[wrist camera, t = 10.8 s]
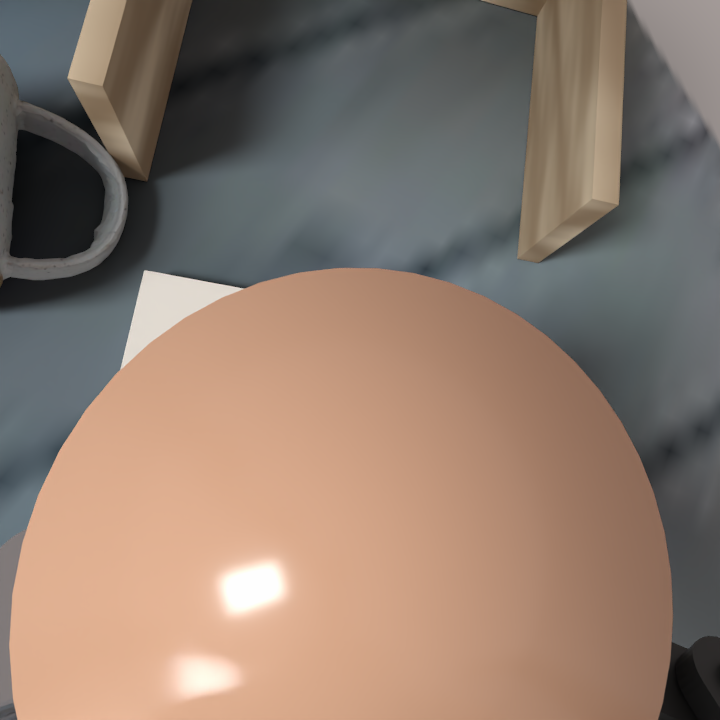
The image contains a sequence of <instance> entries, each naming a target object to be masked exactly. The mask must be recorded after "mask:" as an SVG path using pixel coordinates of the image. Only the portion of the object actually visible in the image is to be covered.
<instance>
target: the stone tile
mask: <svg viewBox="0 0 720 720" xmlns="http://www.w3.org/2000/svg"><path fill="white" fill-rule="evenodd" d="M240 290H243V288H238V287H233V286H227V285H222V284H216V283H211V282H206V281H200V280H195V279H189V278H184V277H179V276H173V275H168V274H162V273H157V272H152V271H146V270H144V274H143V278H142V282H141V286H140V290H139V295H138V299H137V303H136V307H135V311H134V315H133V319H132V324H131V328H130V332H129V336H128V340H127V344H126V349H125V353H124V357H123V361H122V365H121V369H122V368H123V367H124V366H125V365H126V364H128V363H129V362H130V361H131V360H132V359H133V358H134V357H135V356H136V355H137V354H138V353H139V352H140V351H142V350H143V349H144V348H145V347H146V346H147V345H148V344H149V343H150V342H152V341H153V340H155V339H156V338H157V337H159V336H160V335H162V334H163V333H164V332H166V331H167V330H169V329H170V328H171V327H173V326H174V325H175V324H177V323H178V322H180V321H181V320H182V319H184V318H185V317H187V316H189V315H191V314H193V313H195V312H196V311H198V310H200V309H202V308H204V307H206V306H207V305H209V304H211V303H213V302H215V301H217V300H218V299H220V298H222V297H225V296H227V295H230V294H232V293H235V292H237V291H240ZM121 369H120V370H121Z"/></svg>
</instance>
